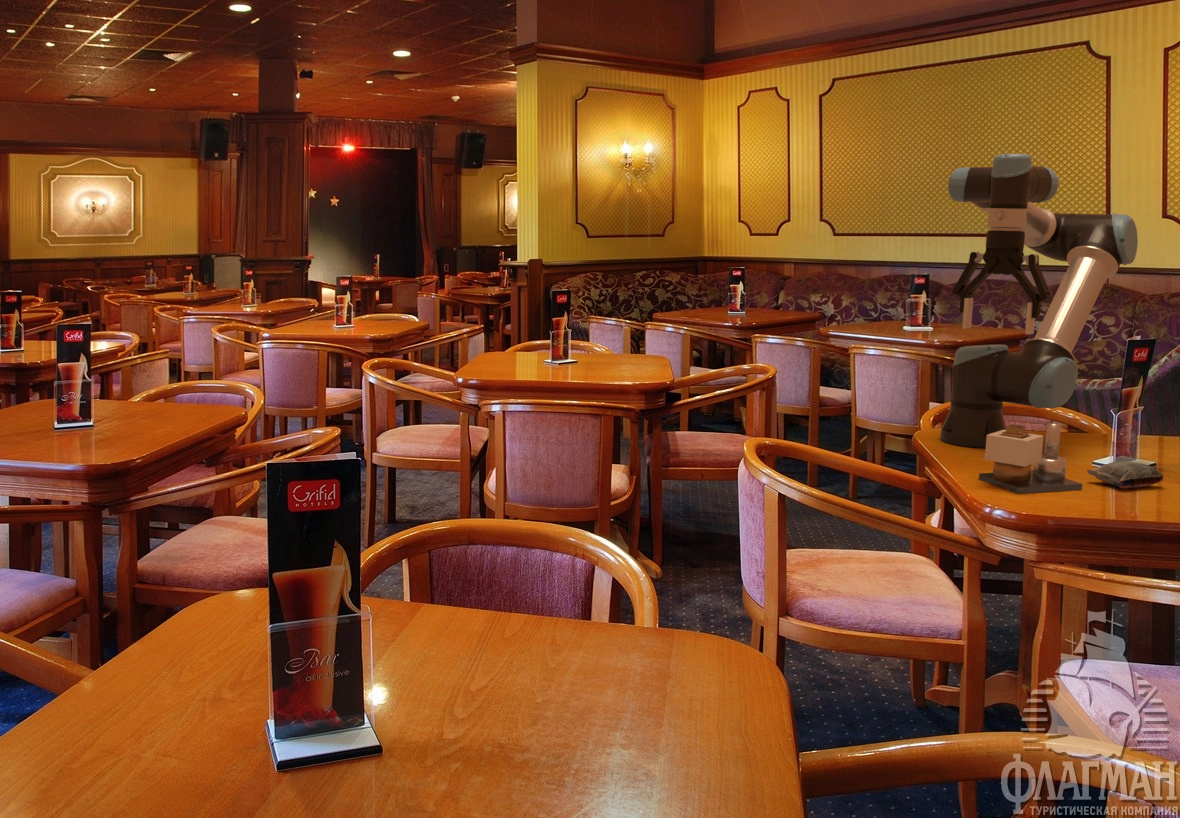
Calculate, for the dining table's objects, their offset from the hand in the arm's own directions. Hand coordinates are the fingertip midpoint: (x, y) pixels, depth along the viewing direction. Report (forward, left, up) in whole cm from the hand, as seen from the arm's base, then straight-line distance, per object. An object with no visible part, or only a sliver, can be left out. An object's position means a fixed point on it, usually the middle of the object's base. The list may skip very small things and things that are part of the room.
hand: (997, 331), depth 230 cm
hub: (+18, +9, -27) cm, 34 cm away
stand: (+11, +15, -28) cm, 33 cm away
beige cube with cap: (+18, +9, -24) cm, 31 cm away
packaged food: (+3, +28, -29) cm, 40 cm away
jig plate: (+15, +12, -29) cm, 34 cm away
